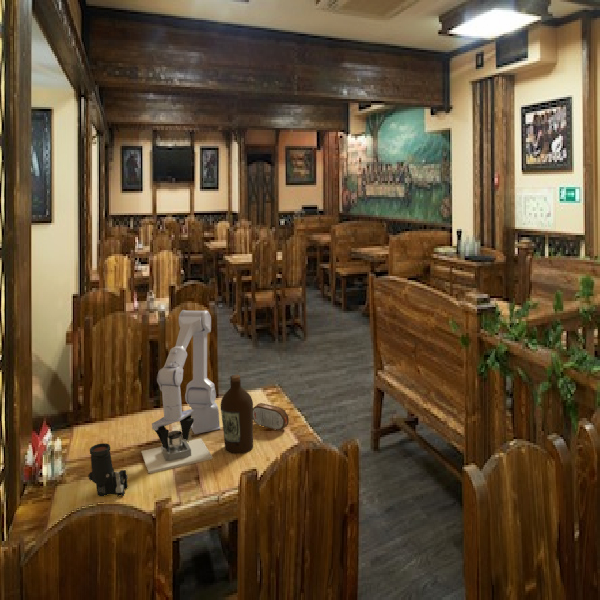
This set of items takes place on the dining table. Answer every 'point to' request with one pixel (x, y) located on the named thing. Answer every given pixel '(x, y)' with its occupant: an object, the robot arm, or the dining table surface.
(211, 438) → the dining table surface
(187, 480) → the dining table surface
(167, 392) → the robot arm
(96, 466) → the black camera
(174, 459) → the mount plate
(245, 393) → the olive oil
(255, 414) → the tin
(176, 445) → the lens
